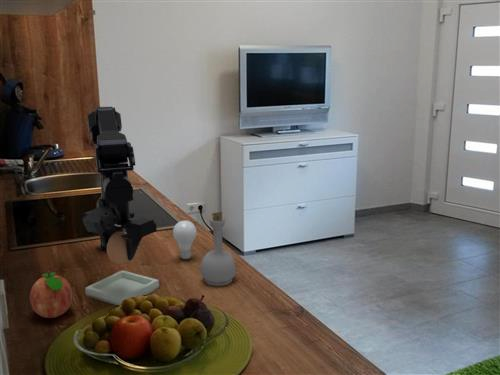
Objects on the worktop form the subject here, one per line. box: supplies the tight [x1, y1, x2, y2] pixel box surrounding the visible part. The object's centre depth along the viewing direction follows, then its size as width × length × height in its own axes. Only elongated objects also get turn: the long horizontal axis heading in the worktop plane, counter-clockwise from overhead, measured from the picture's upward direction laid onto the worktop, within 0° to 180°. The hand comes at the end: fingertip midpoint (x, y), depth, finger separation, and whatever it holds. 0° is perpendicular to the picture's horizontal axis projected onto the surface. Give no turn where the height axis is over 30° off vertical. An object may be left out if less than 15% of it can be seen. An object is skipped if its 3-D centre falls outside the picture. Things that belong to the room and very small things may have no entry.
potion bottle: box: [199, 211, 237, 287], centre depth 129 cm, size 9×9×18 cm
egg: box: [106, 231, 129, 266], centre depth 122 cm, size 6×6×8 cm
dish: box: [84, 269, 160, 306], centre depth 125 cm, size 12×12×2 cm
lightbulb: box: [172, 220, 197, 261], centre depth 143 cm, size 6×6×11 cm
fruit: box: [29, 270, 74, 319], centre depth 113 cm, size 9×10×10 cm
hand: (120, 257), depth 123 cm, fingers closed on egg, 6 cm apart
